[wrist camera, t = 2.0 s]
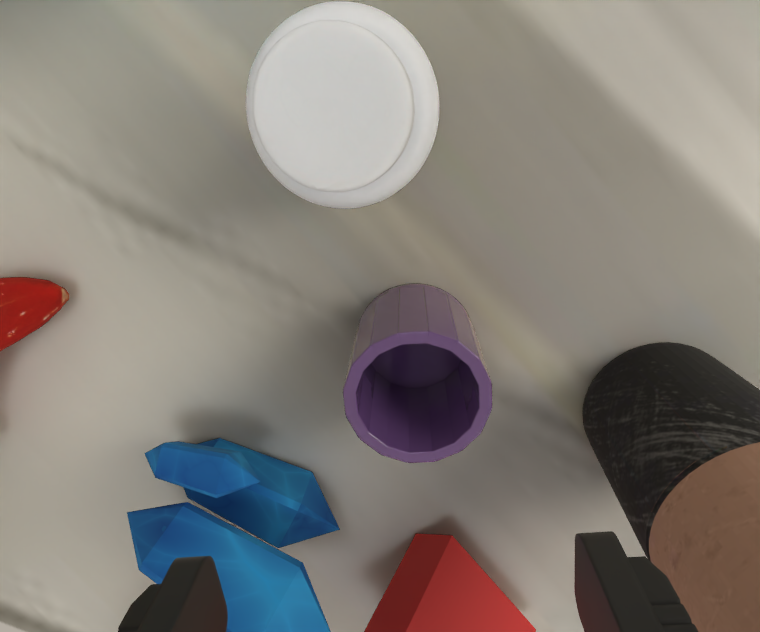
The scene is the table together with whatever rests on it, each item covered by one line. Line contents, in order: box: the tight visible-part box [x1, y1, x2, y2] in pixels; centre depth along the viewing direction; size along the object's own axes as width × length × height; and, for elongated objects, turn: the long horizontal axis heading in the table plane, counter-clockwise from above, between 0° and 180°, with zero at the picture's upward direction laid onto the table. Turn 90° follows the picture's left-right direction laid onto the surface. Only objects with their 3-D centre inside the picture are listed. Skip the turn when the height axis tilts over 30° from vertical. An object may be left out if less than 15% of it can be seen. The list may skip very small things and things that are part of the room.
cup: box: [343, 284, 492, 463], centre depth 23 cm, size 6×6×6 cm
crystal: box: [127, 438, 340, 632], centre depth 26 cm, size 7×9×12 cm
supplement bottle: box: [246, 1, 440, 209], centre depth 18 cm, size 6×6×10 cm
